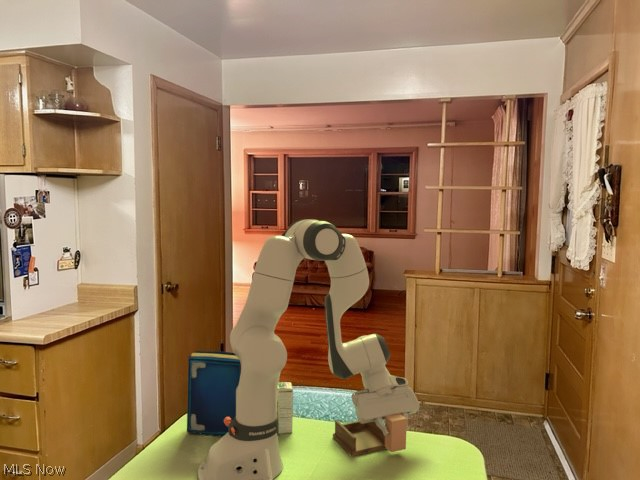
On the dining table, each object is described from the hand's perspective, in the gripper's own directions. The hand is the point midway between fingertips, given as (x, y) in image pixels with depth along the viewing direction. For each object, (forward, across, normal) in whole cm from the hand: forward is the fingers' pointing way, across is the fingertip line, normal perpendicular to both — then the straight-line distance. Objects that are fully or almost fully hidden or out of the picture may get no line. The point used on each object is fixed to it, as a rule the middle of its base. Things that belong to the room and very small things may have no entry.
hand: (396, 432), depth 129 cm
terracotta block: (+3, 0, +4) cm, 5 cm away
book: (-19, -43, +29) cm, 55 cm away
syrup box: (-14, -25, +25) cm, 38 cm away
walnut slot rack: (-3, -6, +12) cm, 14 cm away
